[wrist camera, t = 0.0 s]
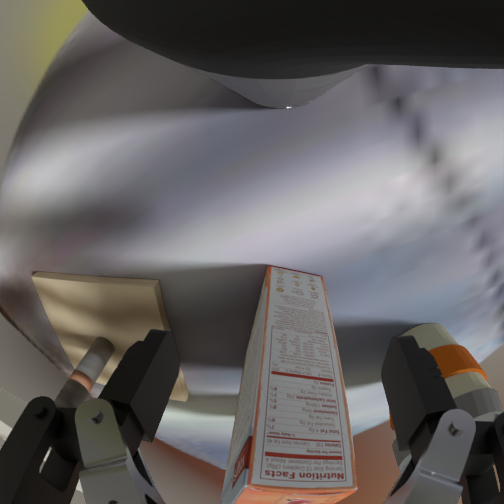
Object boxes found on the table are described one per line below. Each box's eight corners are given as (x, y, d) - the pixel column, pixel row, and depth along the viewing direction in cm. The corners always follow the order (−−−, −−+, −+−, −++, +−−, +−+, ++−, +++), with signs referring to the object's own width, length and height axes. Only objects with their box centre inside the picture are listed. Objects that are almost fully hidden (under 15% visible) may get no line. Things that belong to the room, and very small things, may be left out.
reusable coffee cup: (367, 387, 35) (383, 482, 21) (381, 317, 29) (418, 433, 16) (444, 372, 33) (475, 454, 19) (470, 304, 27) (527, 393, 14)
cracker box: (290, 368, 34) (283, 532, 15) (243, 360, 34) (212, 524, 15) (328, 274, 28) (364, 495, 9) (267, 261, 28) (235, 490, 9)
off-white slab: (-34, 364, 17) (-47, 381, 14) (66, 421, 15) (50, 451, 12) (38, 448, 24) (30, 463, 21) (140, 493, 22) (133, 513, 19)
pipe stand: (37, 271, 32) (-80, 394, 9) (158, 280, 30) (26, 505, 7) (83, 371, 41) (17, 486, 18) (189, 394, 39) (140, 551, 15)
